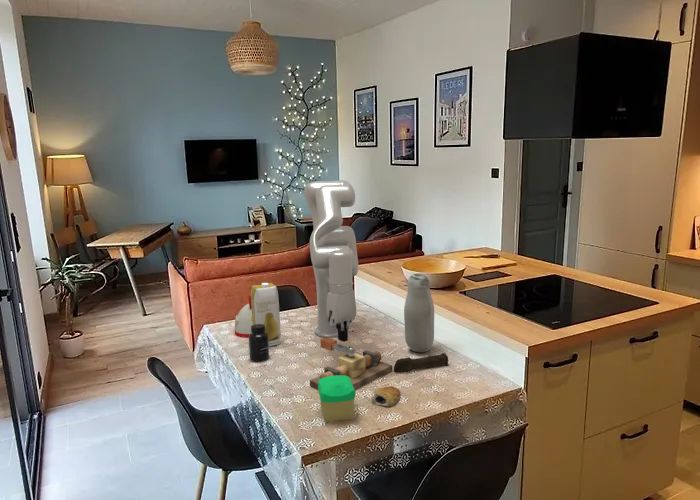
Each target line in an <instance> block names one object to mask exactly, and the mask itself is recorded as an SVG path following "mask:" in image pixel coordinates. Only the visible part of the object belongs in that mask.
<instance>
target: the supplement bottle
mask: <svg viewBox="0 0 700 500" xmlns="http://www.w3.org/2000/svg"><path fill="white" fill-rule="evenodd" d="M251 332H252V333H251V334H250V335H249V338H248V351H249V359H250V361H252V362H255V363H259V362H265V361H267V360H268V359H270V346H269V340H268V334H267V333H266V332H265V325H263V324H255V325H252V326H251Z"/></svg>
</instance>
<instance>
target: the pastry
mask: <svg viewBox="0 0 700 500" xmlns="http://www.w3.org/2000/svg"><path fill="white" fill-rule="evenodd" d="M400 393H401V392H400V389H399V388H397V387H394V386H392V385H390V386H385V387H380V388H378V390H375V392H374V393H373V396H372V397H371V402H372V403H373V404H374V405H376V406H381V407H387V408H388V407H392V406H394V405H395V404H397V403H398V400H399V398H400V395H401V394H400Z"/></svg>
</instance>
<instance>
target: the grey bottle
mask: <svg viewBox="0 0 700 500" xmlns="http://www.w3.org/2000/svg"><path fill="white" fill-rule="evenodd" d="M432 297H433V296H432V294H431V289H430V280H429V278H428V276H426V275H425V274H422V273H413V274H411V275H410V276H409V278H408V281H407V292H406V297H405V301H404V307H403V308H404V309H403V315H404V316H403V318H404V340H405V343H406V345H407V346H408V348H409V349H410V350H412V351H413V352H416V353H425V352H427V351H429V350H430V349H431V348H432V347H433V344H434V340H435V304H434V302H433V301H434V300H433V298H432Z"/></svg>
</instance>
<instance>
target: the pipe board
mask: <svg viewBox="0 0 700 500" xmlns="http://www.w3.org/2000/svg"><path fill="white" fill-rule="evenodd" d="M337 360H338V361H337V362H338V364H337V365H338V367H337V366H336V367H335V368H333V367H331V366H326V367H324V368H323V369H324V373H321V375H319V376H317V377H314V378H312V379H309V387H310V388H312V389H315V390H316V391H318V383H319V380H320V379H321V378H324V377H328V376H334V375H344V376H348V377H349V378H350V380H351V383H352V385H353V387H354V389H355V391H356V390H357V389H359V388H361V387H364V386H366V385H367V384H370V383H372V382H373V381H375V380H378V379H379V378H383V376H386V375H388V374H390V373H392V372H393V365H392V364H389V363H387V362H383V361H381V360H382V353H381V352H380V351H378V350H374V351H370V350H367V349H365V350H363V351H362V355H361V354H359V353H356V352H355V354H354V357H349V355H348V354H344V355H341V356H338V358H337Z"/></svg>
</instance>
